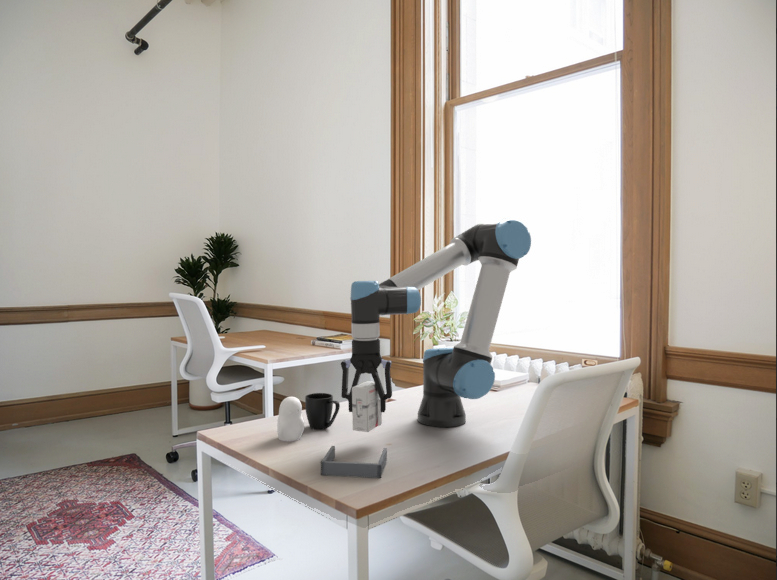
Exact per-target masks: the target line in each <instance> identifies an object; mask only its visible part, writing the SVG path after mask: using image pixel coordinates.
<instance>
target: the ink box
mask: <svg viewBox="0 0 777 580" xmlns="http://www.w3.org/2000/svg"><path fill="white" fill-rule="evenodd" d="M351 387H352V386H351ZM378 399H380V397H379V394H378V391H377V388H376V385H375V382H374V380H373V381H372V380H369V381H367V380H366V381H364V382H362V383H358V385H357V386H354V387H352V412H351V415H352V431H356V432H364V433H369V432H371V431H372V430H374V429H376V428H377V427H379V426H378V402H377V401H378Z"/></svg>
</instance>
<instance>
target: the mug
mask: <svg viewBox="0 0 777 580" xmlns="http://www.w3.org/2000/svg"><path fill="white" fill-rule="evenodd" d="M333 398H334V396H333V394H330V393H326V392H325V393H324V392H314V393H309V394H306V395H305V397H304V400H305V401H304V403H305V414H306V419H307V422H308V425H309V428H310V429H311V430H316V431H319V430H321V431H322V430H326V429H328V428H330V427H331V426H332V425H333V423H334V422H335V419H336V418H337V416H338V414H339V410H340V408H341V406H340V404H341V403H340V402H339V401H338V400H334V399H333ZM334 404H335V407H334V408H335V409H334V411H333V405H334ZM332 414H333V415H332Z"/></svg>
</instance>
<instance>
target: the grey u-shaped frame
mask: <svg viewBox="0 0 777 580" xmlns="http://www.w3.org/2000/svg"><path fill="white" fill-rule="evenodd" d="M335 458H336V446H335V445H331V446H330V448H329V449H328V451H327V452H326V453H325V455H324V457H323V458H322V460H321V461H320V475H321V476H329V477H330V476H332V477H354V478H355V477H357V478H373V479H376V478H377V479H381V478H382V475H383V474H384V470H385V467H386V464H387V461H388V448H387V447H384V448H383V449H382V452H381V454H380V457H379V460H378V462H377V463H376V462H375V463H374V462H373V463H371V462H356V461H355V462H351V461H334V460H335Z"/></svg>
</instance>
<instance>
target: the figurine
mask: <svg viewBox="0 0 777 580" xmlns="http://www.w3.org/2000/svg"><path fill="white" fill-rule="evenodd" d="M302 410H303V406H302V402H301V401H300V399H299V398H298V397H295V396H288V397H285V398H284V399H283V400H282V401H281V403H280V405H279V408H278V416H277V425H276V426H277V431H276V433H277V438H278V440H279V441H281V442H296V441H298V440H300V439H301V437H302V434H303V432H305V431H304V430H305V421H304V418H303V415H302V413H303V411H302Z"/></svg>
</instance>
